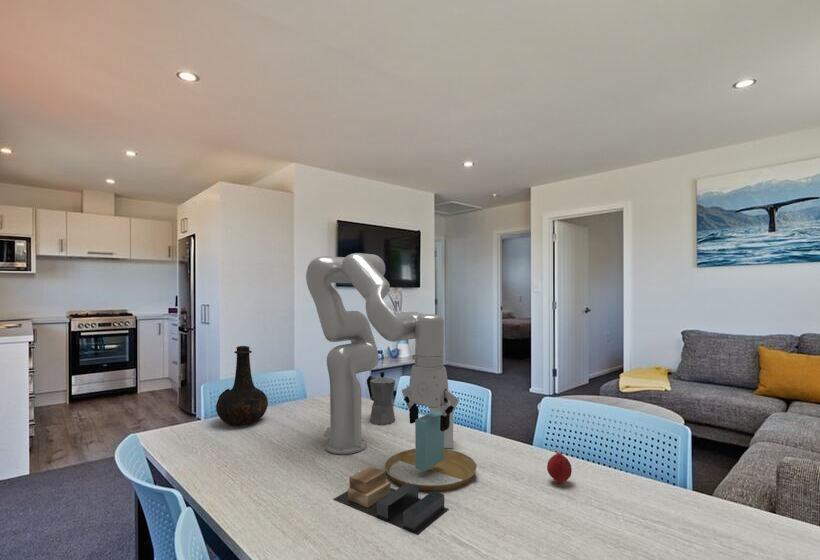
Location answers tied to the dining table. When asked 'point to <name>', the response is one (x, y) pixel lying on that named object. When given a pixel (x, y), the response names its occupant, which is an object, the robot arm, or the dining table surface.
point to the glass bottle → (242, 395)
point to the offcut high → (367, 479)
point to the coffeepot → (381, 399)
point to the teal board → (429, 441)
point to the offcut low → (369, 495)
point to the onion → (559, 467)
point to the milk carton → (449, 432)
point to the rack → (403, 508)
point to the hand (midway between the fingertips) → (428, 425)
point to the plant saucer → (438, 468)
